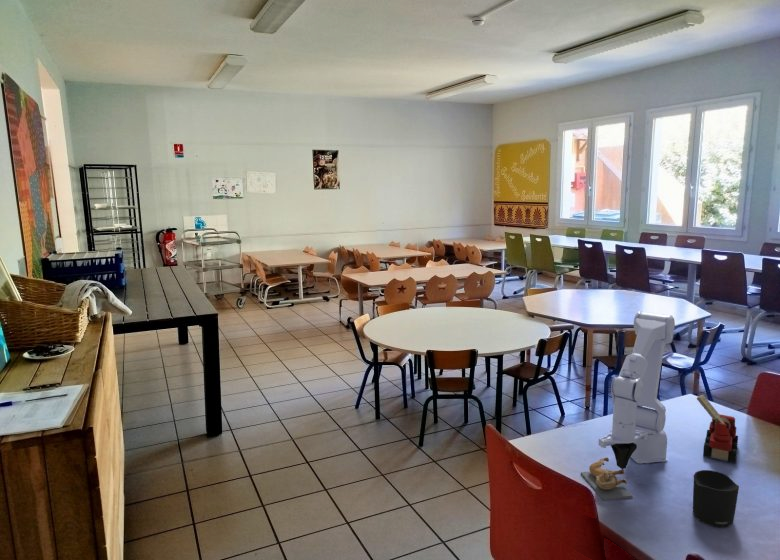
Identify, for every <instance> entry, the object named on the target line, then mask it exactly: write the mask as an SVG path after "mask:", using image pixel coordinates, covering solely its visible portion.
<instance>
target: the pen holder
mask: <svg viewBox="0 0 780 560" xmlns="http://www.w3.org/2000/svg"><path fill="white" fill-rule="evenodd" d="M739 488H740V486H739V484H737V483H736V482H735V481H734V480H732V479H731V477H729V476H728V475H727V474H725V473H722V472H720V471H716V470H713V469H712V470H709V469H702V470H697V471H696V472H695V473H694V475H693V489H692V513H693V515H694V517H696V519H697V520H698V521H700V522H701V523H703V524H706V525H708V526H711V527H715V528H728V527H730V526H732V524H733V523H734V521H735V514H736V508H737V501H738V497H739V496H738V494H739Z"/></svg>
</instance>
